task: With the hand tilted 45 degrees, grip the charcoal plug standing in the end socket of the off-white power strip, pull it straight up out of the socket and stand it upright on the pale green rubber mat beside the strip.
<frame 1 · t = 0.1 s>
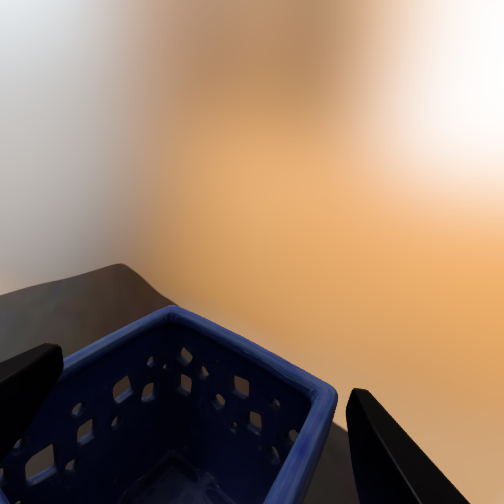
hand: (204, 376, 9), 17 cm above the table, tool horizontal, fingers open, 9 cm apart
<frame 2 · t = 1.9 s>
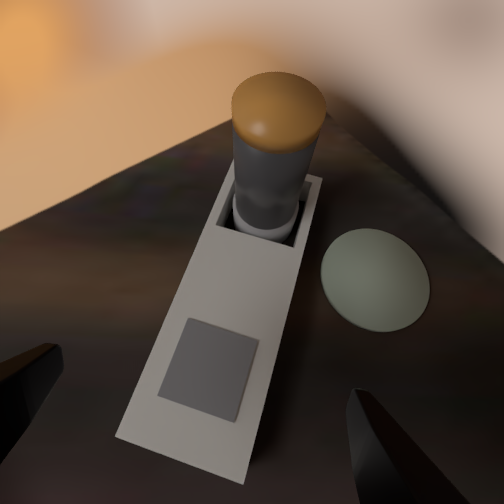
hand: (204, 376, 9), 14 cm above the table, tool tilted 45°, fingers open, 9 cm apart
power strip: (238, 293, 24), on the table
rubber mat: (372, 278, 25), on the table
plug: (263, 221, 27), resting in power strip
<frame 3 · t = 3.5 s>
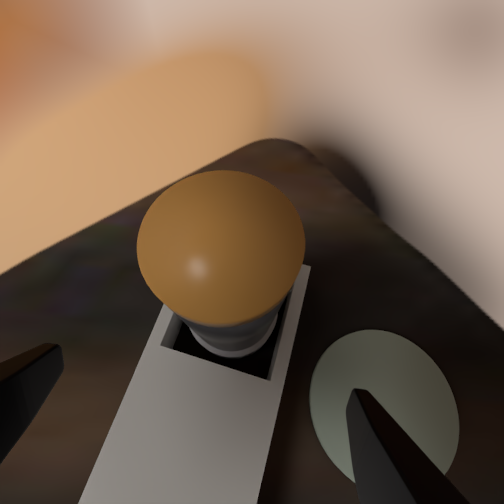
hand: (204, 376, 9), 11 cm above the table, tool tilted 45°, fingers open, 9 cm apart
power strip: (196, 433, 17), on the table
rubber mat: (379, 404, 18), on the table
plug: (233, 317, 20), resting in power strip
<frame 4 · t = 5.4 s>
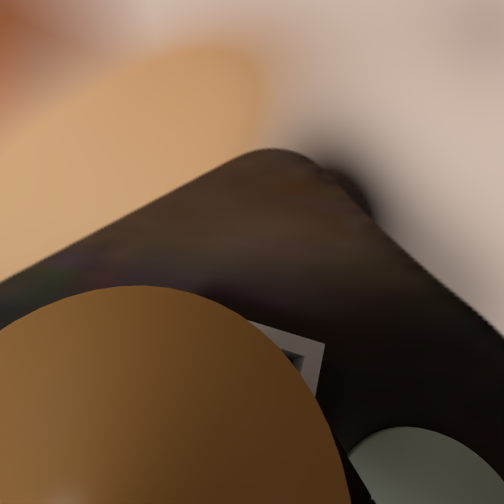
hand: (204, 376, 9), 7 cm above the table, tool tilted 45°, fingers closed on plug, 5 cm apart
plug: (215, 405, 14), resting in power strip, touching gripper
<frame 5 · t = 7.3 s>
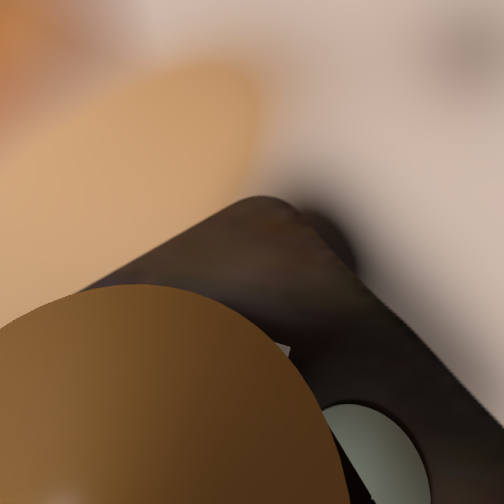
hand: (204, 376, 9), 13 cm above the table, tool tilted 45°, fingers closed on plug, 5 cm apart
rubber mat: (355, 481, 19), on the table
plug: (214, 405, 14), point 7 cm above the table, touching gripper
when the fingers open (8 cm above the table, at t = 9.6 s): plug drops 1 cm, resting on rubber mat.
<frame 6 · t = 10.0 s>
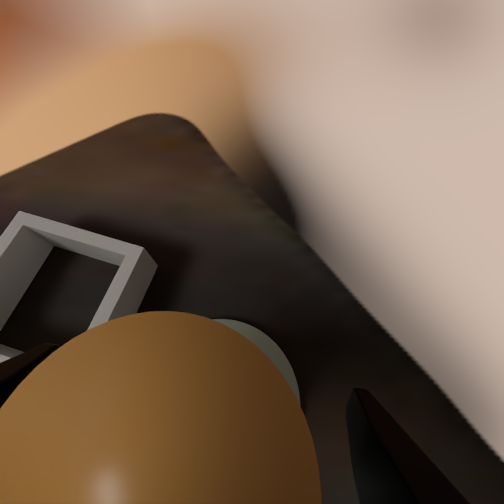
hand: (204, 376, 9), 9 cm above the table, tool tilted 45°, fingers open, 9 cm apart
power strip: (0, 435, 15), on the table
rubber mat: (218, 402, 16), on the table
plug: (216, 404, 16), point 1 cm above the table, touching rubber mat
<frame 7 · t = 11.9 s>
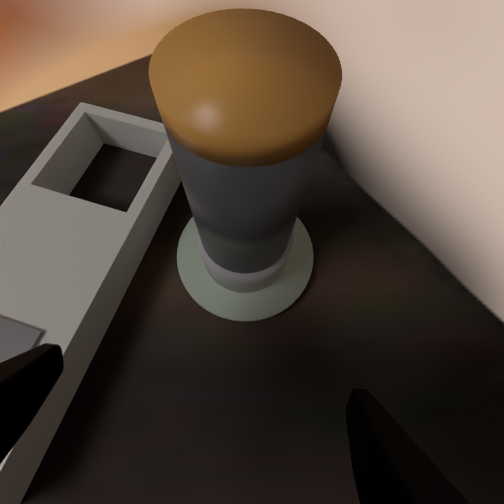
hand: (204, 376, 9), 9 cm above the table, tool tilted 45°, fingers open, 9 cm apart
power strip: (69, 273, 19), on the table
rubber mat: (245, 255, 20), on the table
plug: (245, 252, 19), point 1 cm above the table, touching rubber mat
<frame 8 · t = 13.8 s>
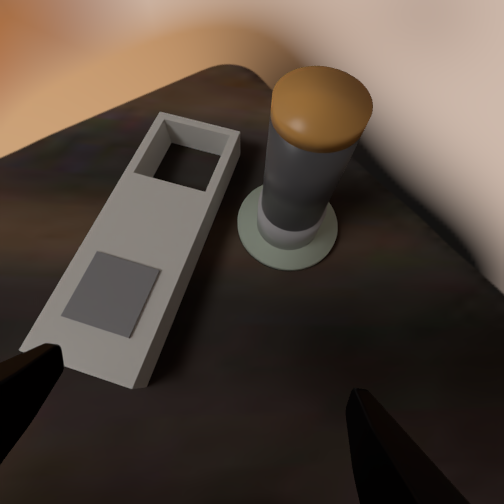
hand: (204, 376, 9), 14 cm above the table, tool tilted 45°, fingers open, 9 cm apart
power strip: (159, 238, 25), on the table
rubber mat: (286, 224, 26), on the table
plug: (287, 222, 26), point 1 cm above the table, touching rubber mat
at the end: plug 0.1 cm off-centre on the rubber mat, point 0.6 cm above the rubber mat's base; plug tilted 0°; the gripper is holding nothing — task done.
